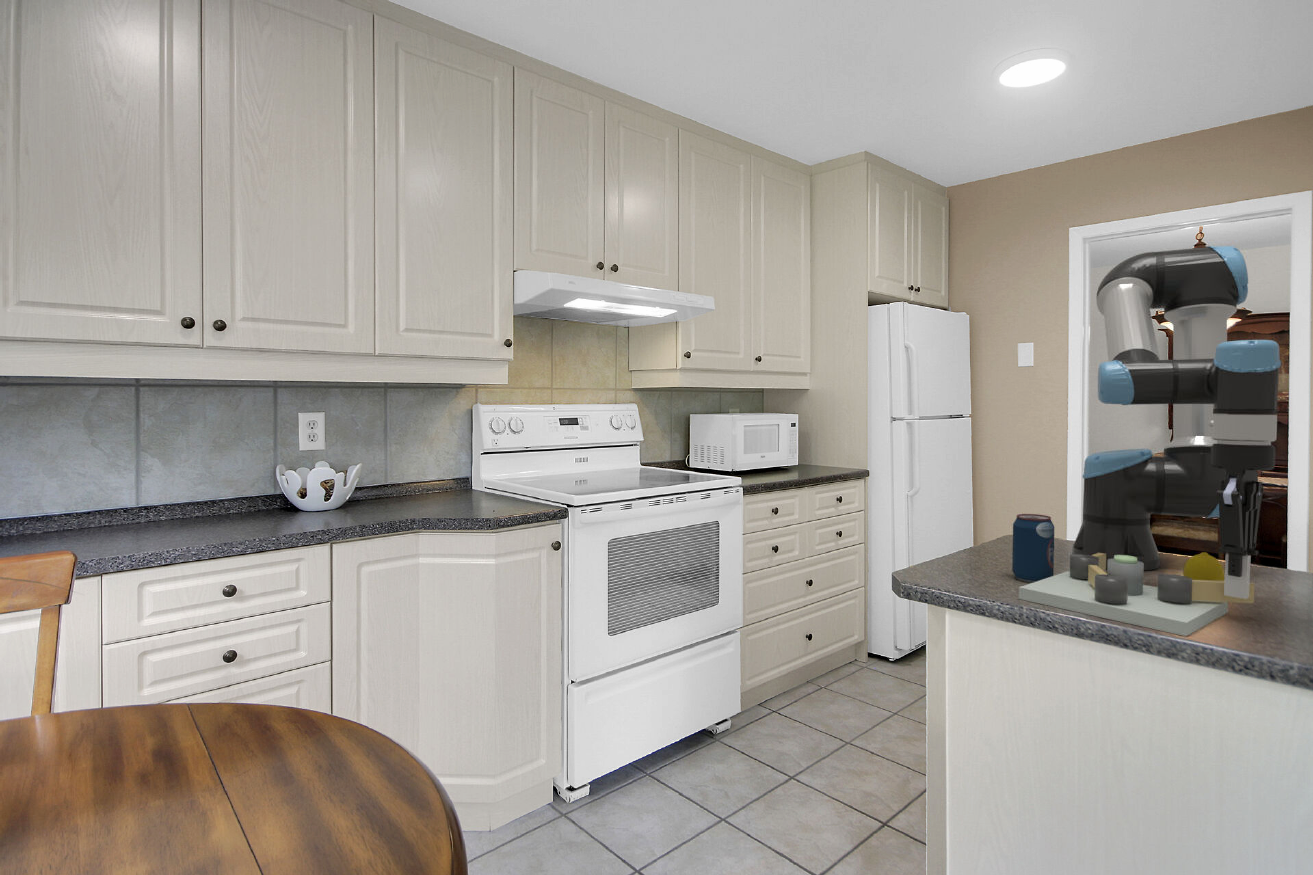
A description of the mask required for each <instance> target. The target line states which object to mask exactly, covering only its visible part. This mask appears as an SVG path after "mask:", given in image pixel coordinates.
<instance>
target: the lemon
mask: <svg viewBox="0 0 1313 875" xmlns="http://www.w3.org/2000/svg"><path fill="white" fill-rule="evenodd" d="M1182 576H1186V577H1190V578H1192V580H1211V581H1225V569H1224V567H1223V565H1222V564H1221V562H1220V561H1219V560H1218V559H1217V558H1216V557H1214V556H1212V555H1210V554H1209V553H1208V552H1201V553H1198V554H1195V555H1193V556H1191V557H1189V558H1188V559H1187V560H1186V562H1185V564H1184V567H1183V574H1182Z"/></svg>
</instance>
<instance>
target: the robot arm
mask: <svg viewBox="0 0 1313 875" xmlns="http://www.w3.org/2000/svg"><path fill="white" fill-rule="evenodd" d="M1248 274H1249V273H1248V268H1247V263H1246V261H1245V257H1244V255H1243V253H1242V252H1241V251H1240V250H1239V248H1237V247H1236V246H1231V245H1224V246H1223V245H1221V246H1220V245H1219V246H1214V245H1208V246H1205V247H1194V248H1184V249H1183V248H1182V249H1174V250H1164V251H1163V250H1162V251H1150V252H1149V251H1148V252H1142V253H1140V254H1139V253H1138V254H1135V255H1133V256H1130V257H1129V258H1127V259H1125V260H1122V262H1120V263H1118V264H1117V265H1115V266H1114V267H1113V268H1112V269H1111V270H1110V271H1109V272H1108V273H1107V274H1106V275H1105V276H1104V277H1103V278H1102V280H1101V282H1100V283H1099V286H1098V287H1097V291H1096V305H1097V306H1096V307H1097V310H1098V312H1100V314H1101V315H1102V316H1103V318H1104V319H1103V320H1104V329H1105V337H1106V347H1107V357H1108V361H1105V362H1101V363H1100V364H1099V366H1098V372H1097V399H1098V400H1099V402H1101V403H1102V404H1106V405H1107V404H1109V405H1122V406H1129V405H1130V406H1131V405H1135V406H1136V405H1172V406H1173V409H1172V411H1173V412H1172V413H1173V414H1172V421H1173V422H1172V428H1173V429H1172V430H1173V431H1172V432H1173V433H1172V434H1173V435H1172V437H1173V438H1172V440H1171V441H1170V442H1169V443H1168V444H1167V445H1166V446H1164V447H1163V455H1162V456H1159V455H1156V456H1154V453H1153V452H1152V450H1151V449H1149V448H1131V449H1130V448H1128V449H1115V450H1106V451H1100V452H1095V453H1091V454H1090V455H1088V456H1086V458H1085V460H1084V464H1083V465H1084V467H1083V474H1082V479H1083V499H1082V523H1081V525H1080V529H1079V530H1078V533H1077V536H1076V538H1075V541H1074V543H1073V545H1072V549H1071V550H1072V551H1071V555H1073V554H1083V555H1094V554H1097V553H1104V554H1106V569H1107V566H1108V559H1113V558H1114V556H1115V555H1128V556H1134V557H1136V558H1137V561H1140V562H1142V563H1144V571H1151V570H1156V569H1158V568H1160V554H1159V550H1158V548H1157V545H1156V542H1155V539H1154V537H1153V533H1152V531H1151V521H1150V520H1151V515H1164V516H1179V517H1180V516H1181V517H1196V518H1197V517H1198V518H1205V519H1210V518H1219V537H1220V538H1219V539H1220V548H1218V553H1219V554H1225V557H1224V558H1225V560H1224V561H1225V562H1224V563H1225V564H1224V575H1225V580H1224V595H1226V596H1232V597H1237V598H1243V599H1247V598H1249V582H1251V581H1250V579H1251V561H1252V560H1251V557H1252V556H1251V555H1254V556H1258V554H1259V550H1257V549H1256V546H1257V539H1258V538H1257V536H1258V530H1259V529H1258V527H1259V520H1260V512H1261V511H1260V510H1261V506H1262V505H1261V504H1262V499H1263V494H1264V492H1265V489H1264V487H1263V486H1262V482H1261V481H1259V476H1258V471H1271V470H1273V469H1275V466H1276V447H1275V446H1274V445H1272V442H1275V441H1277V434H1278V432H1277V430H1278V415H1277V413H1278V396H1279V395H1278V394H1279V380H1280V377H1279V375H1280V367H1281V366H1282V361H1281V359H1280V345H1279V343H1277V341H1274V340H1271V339H1246V340H1245V339H1244V340H1243V339H1241V340H1232V341H1231V340H1230V341H1228V320H1229V319H1230V318H1231V317H1232V316H1233V315H1234V314H1236V312H1237V311H1238V307H1237V306H1239V305H1241V304H1243V303H1245V301H1246V299H1247V297H1248V293H1249V287H1248V284H1249V275H1248ZM1153 309H1154V310H1155V309H1156V310H1157V309H1159V310H1160V309H1163V317H1164V319H1165V320H1166V321H1167V322H1170V323H1171V325H1172V328H1173V329H1172V330H1173V332H1172V333H1173V334H1172V336H1173V338H1172V339H1173V342H1172V343H1173V344H1172V345H1173V350H1172V352H1173V353H1172V354H1173V355H1172V359H1160V354H1159V349H1158V348H1159V347H1158V343H1157V338H1156V334H1155V328H1154V324H1153V319H1152V315H1151V310H1153ZM1254 549H1255V550H1254Z"/></svg>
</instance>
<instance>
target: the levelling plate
mask: <svg viewBox="0 0 1313 875" xmlns="http://www.w3.org/2000/svg"><path fill="white" fill-rule="evenodd" d="M1106 569H1107V571H1106V573H1107V574H1108V575H1116V576H1121V577H1125V578H1127V579H1128V598H1127V603H1123V604H1115V603H1107V602H1102V601H1099V600H1096V599H1095V598H1094V597H1095V588H1094V587H1093V586H1092V585H1091V584H1090V583H1089V582H1088V579H1079V578H1075V577H1072V576H1070V570H1067V571H1064V572H1061V573H1058V574H1055V575H1053V576H1052V577H1049V578H1046V579H1043V580H1040V581H1037V582H1034V583H1033V582H1030V583H1028V584H1025V585H1023V586H1019V587H1018V599H1019V600H1022V601H1026V602H1031V603H1035V604H1040V605H1045V606H1048V607H1054V608H1058V609H1062V610H1066V611H1072V612H1076V613H1081V614H1085V615H1089V616H1093V617H1098V618H1103V619H1108V620H1111V621H1115V622H1121V623H1125V624H1129V625H1134V626H1138V627H1143V628H1147V629H1151V630H1157V631H1161V632H1165V633H1169V634H1170V633H1171V634H1174V635H1179V636H1182V637H1187V636H1190V635H1191V634H1193V633H1194V632H1197V631H1199V630H1200V629H1201V628H1203V627H1205V626H1207V625H1209V624H1210V623H1212V622H1214V621H1215V619H1216V620H1218V619H1219V618H1221V617H1223V616H1224V615H1226V614H1228V612H1229V611H1228V609H1229V602H1216V601H1195V600H1192V602H1191V603H1174V602H1168V601H1164V600H1161V599H1159V598H1158V597H1157V592H1158V586H1153V585H1145V584H1144V571H1145V570H1144V563H1142V562H1140V561H1137V558H1136V557H1134V556H1128V555H1115V556H1114V558H1113V559H1108V566H1107V568H1106ZM1208 623H1209V624H1208Z"/></svg>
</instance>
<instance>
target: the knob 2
mask: <svg viewBox="0 0 1313 875" xmlns="http://www.w3.org/2000/svg"><path fill="white" fill-rule="evenodd" d="M1224 581H1225V580H1224ZM1224 581H1211V580H1192V578H1190V577H1186V576H1183V574H1182V575H1181V574H1174V573H1160V574H1158V575H1157V587H1158V592H1157V597H1158V598H1159V599H1161V600H1164V601H1168V602H1174V603H1191V602H1192V600H1195V601H1216V602H1228V603H1237V604H1239V603H1240V604H1241V603H1242V604H1255V586H1256V585H1255V583H1253V582H1251V581H1250V582H1249V598H1247V599H1243V598H1237V597H1232V596H1226V595H1224Z"/></svg>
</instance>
